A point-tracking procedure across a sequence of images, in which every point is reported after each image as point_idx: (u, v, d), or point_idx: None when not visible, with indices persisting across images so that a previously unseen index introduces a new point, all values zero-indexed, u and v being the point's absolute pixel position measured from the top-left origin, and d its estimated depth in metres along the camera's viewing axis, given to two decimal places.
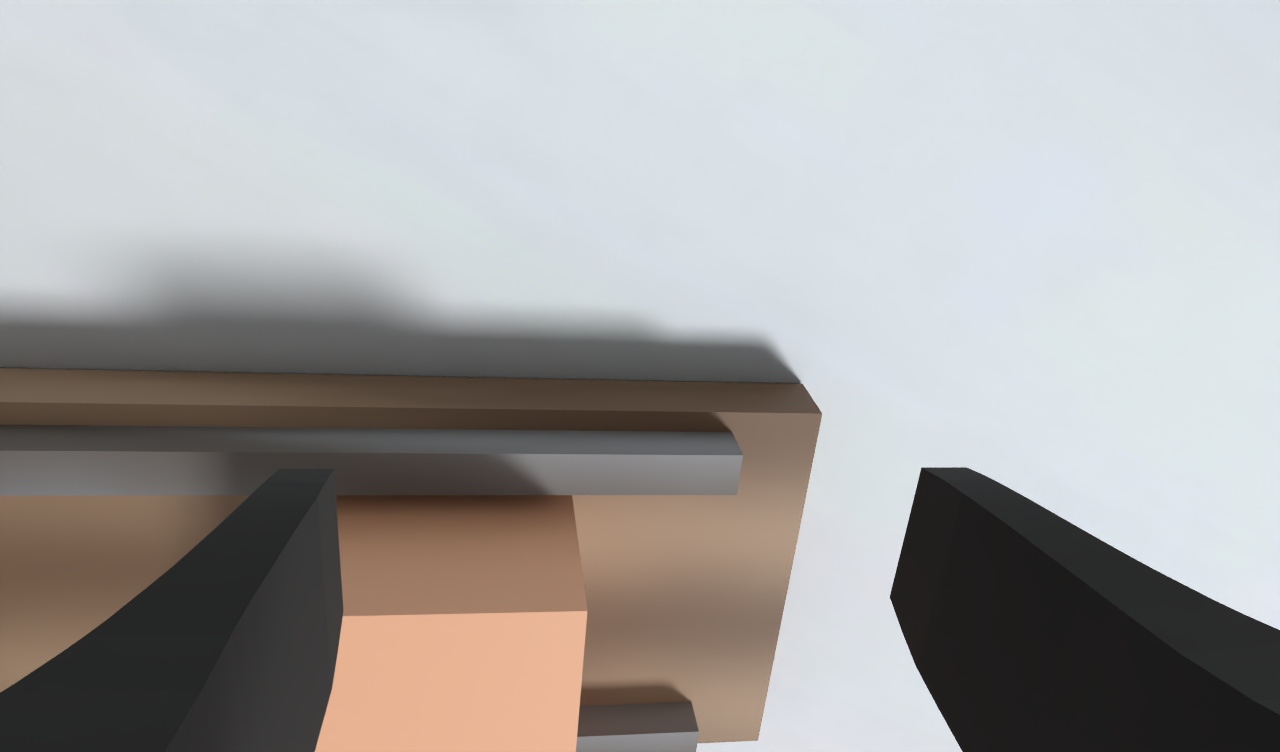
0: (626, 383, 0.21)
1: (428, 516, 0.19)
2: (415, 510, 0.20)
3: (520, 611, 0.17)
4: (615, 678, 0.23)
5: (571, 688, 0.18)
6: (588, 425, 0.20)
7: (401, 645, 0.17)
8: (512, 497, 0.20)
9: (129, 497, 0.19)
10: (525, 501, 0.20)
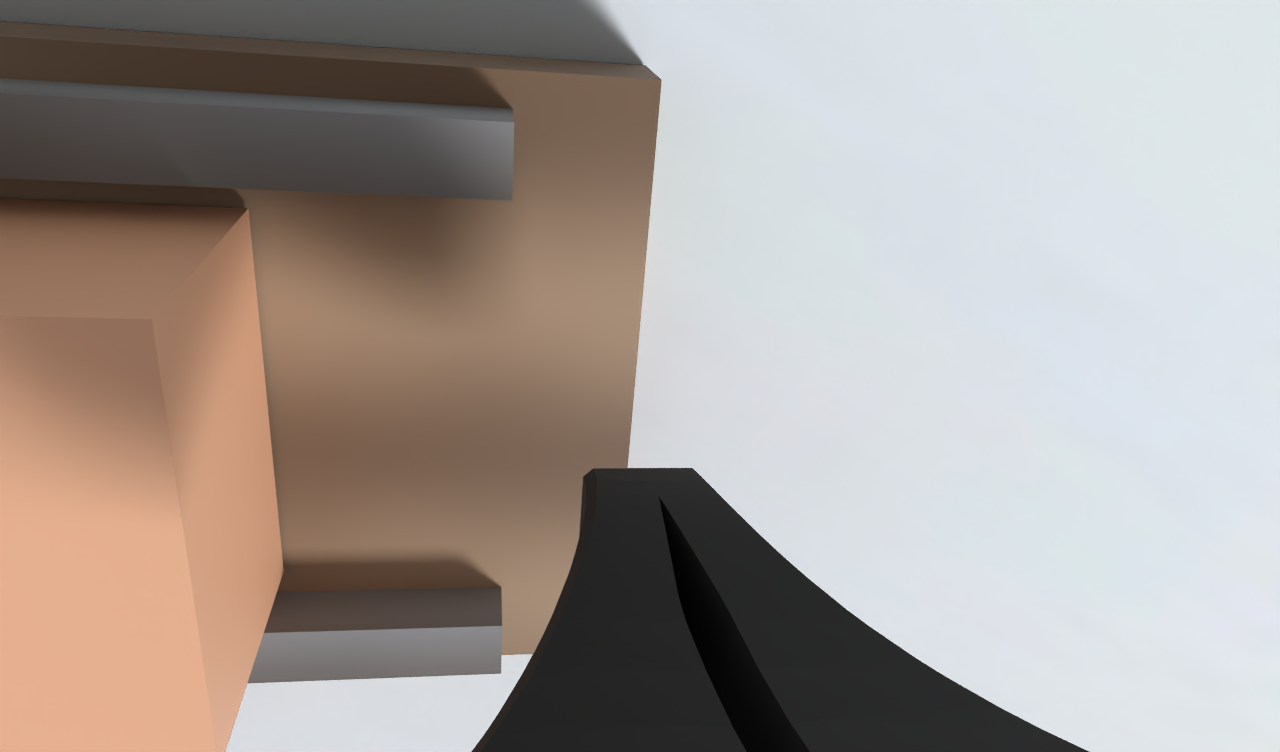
0: (351, 47, 0.13)
1: None
2: None
3: (15, 315, 0.09)
4: (375, 546, 0.15)
5: (157, 484, 0.10)
6: (260, 82, 0.12)
7: None
8: (139, 208, 0.12)
9: None
10: (157, 213, 0.12)
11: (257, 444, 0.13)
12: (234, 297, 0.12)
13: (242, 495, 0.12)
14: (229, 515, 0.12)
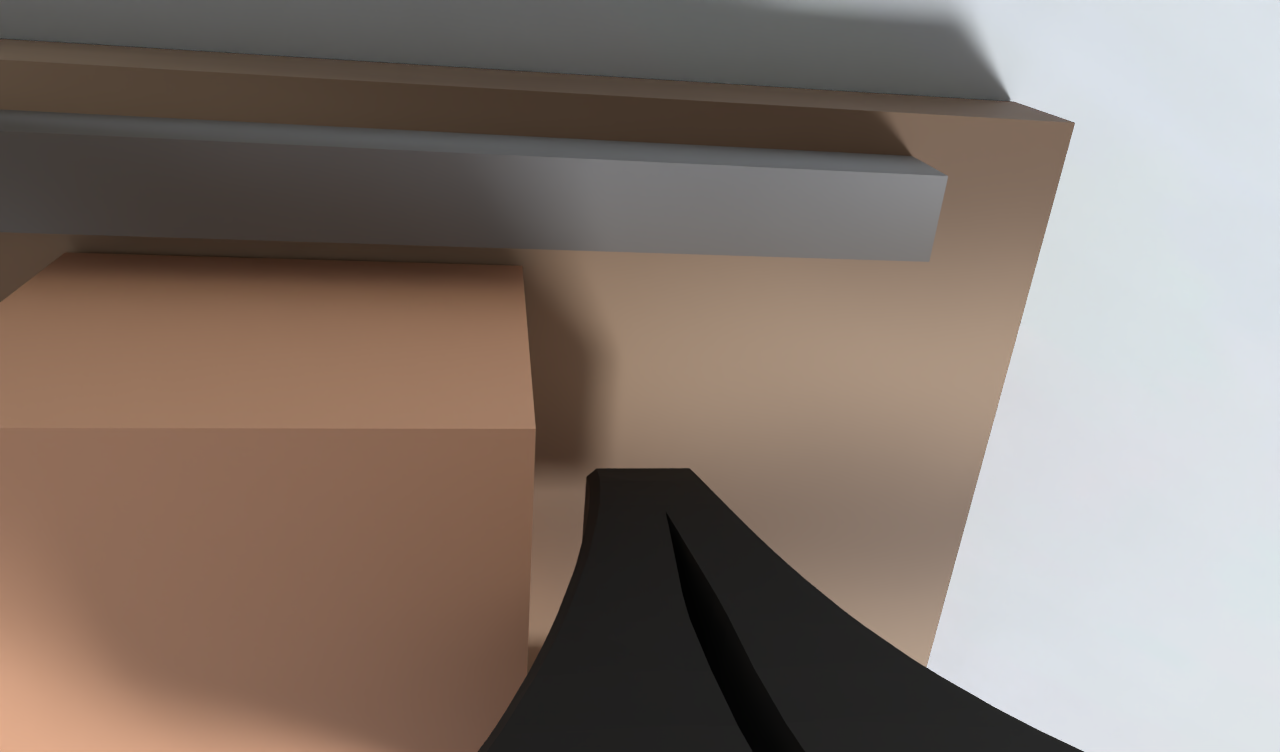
0: (712, 85, 0.12)
1: (230, 286, 0.10)
2: (207, 278, 0.10)
3: (380, 428, 0.07)
4: None
5: (508, 613, 0.08)
6: (650, 130, 0.11)
7: (101, 506, 0.07)
8: (408, 267, 0.11)
9: None
10: (431, 274, 0.11)
11: None
12: None
13: None
14: None
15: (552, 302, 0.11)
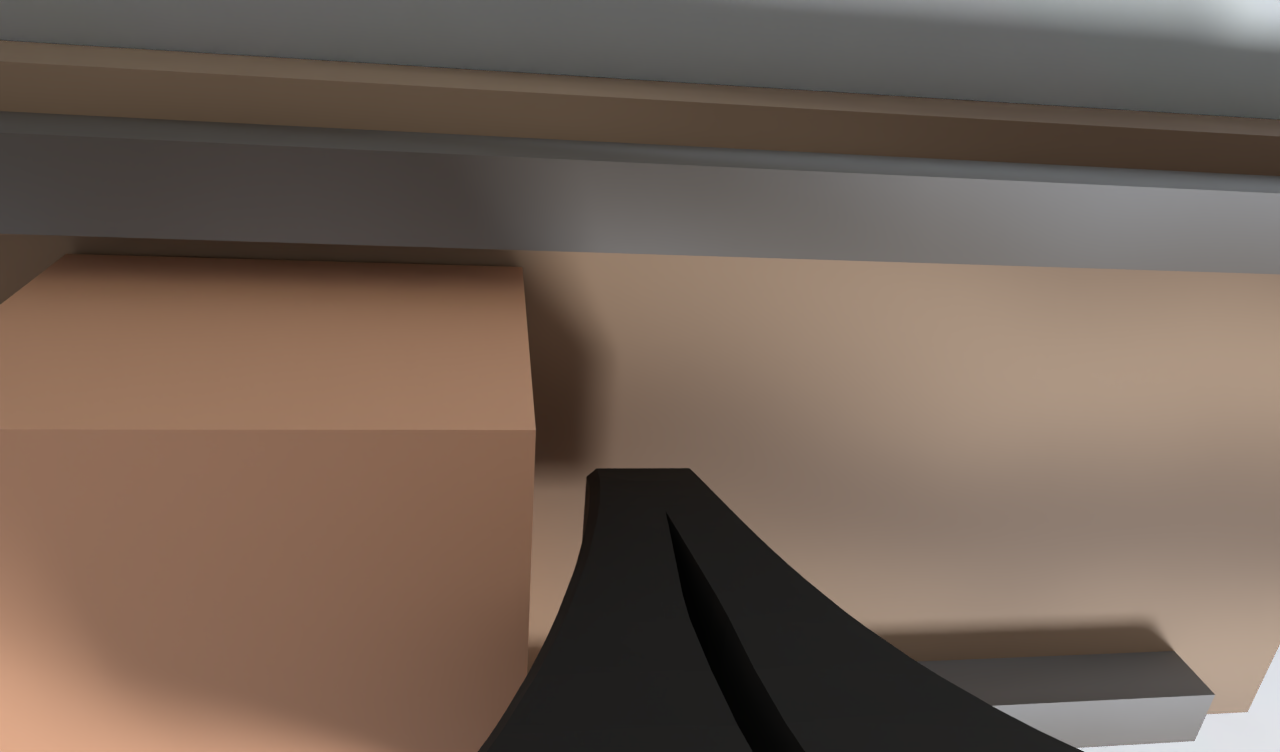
0: (1163, 114, 0.13)
1: (231, 287, 0.10)
2: (208, 279, 0.10)
3: (381, 427, 0.07)
4: (1077, 613, 0.15)
5: (508, 615, 0.08)
6: (1155, 158, 0.12)
7: (102, 507, 0.07)
8: (408, 269, 0.11)
9: None
10: (432, 275, 0.11)
11: None
12: None
13: None
14: None
15: (1034, 314, 0.12)
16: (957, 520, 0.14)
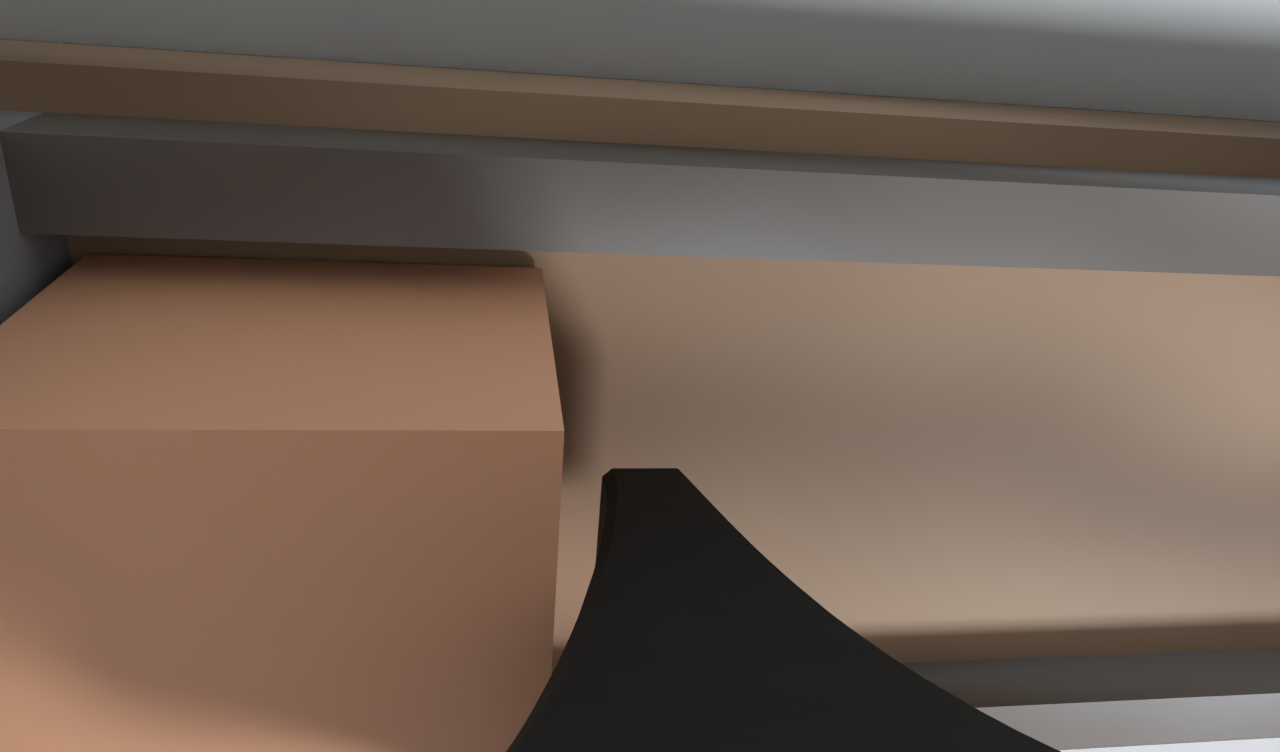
0: None
1: (254, 288, 0.10)
2: (231, 279, 0.10)
3: (411, 429, 0.07)
4: None
5: (533, 614, 0.08)
6: None
7: (133, 507, 0.07)
8: (428, 270, 0.11)
9: (769, 288, 0.12)
10: (452, 276, 0.11)
11: None
12: None
13: None
14: None
15: None
16: (1238, 518, 0.15)
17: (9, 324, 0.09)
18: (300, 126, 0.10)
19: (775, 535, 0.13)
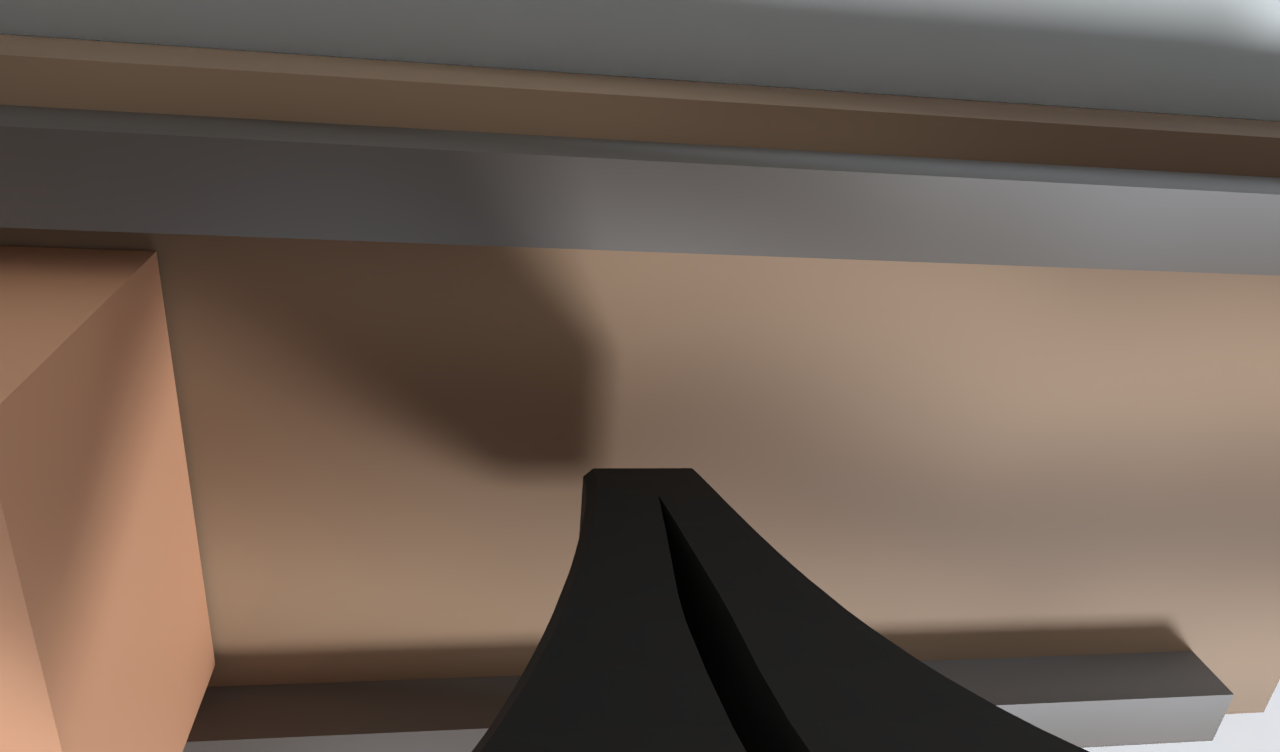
0: (1189, 117, 0.13)
1: None
2: None
3: None
4: (1097, 613, 0.15)
5: (7, 623, 0.08)
6: (1183, 161, 0.12)
7: None
8: (20, 253, 0.10)
9: (418, 274, 0.11)
10: (41, 259, 0.10)
11: (172, 530, 0.11)
12: (133, 363, 0.10)
13: (148, 598, 0.10)
14: (126, 629, 0.10)
15: (1061, 315, 0.13)
16: (980, 520, 0.14)
17: None
18: None
19: (469, 536, 0.13)
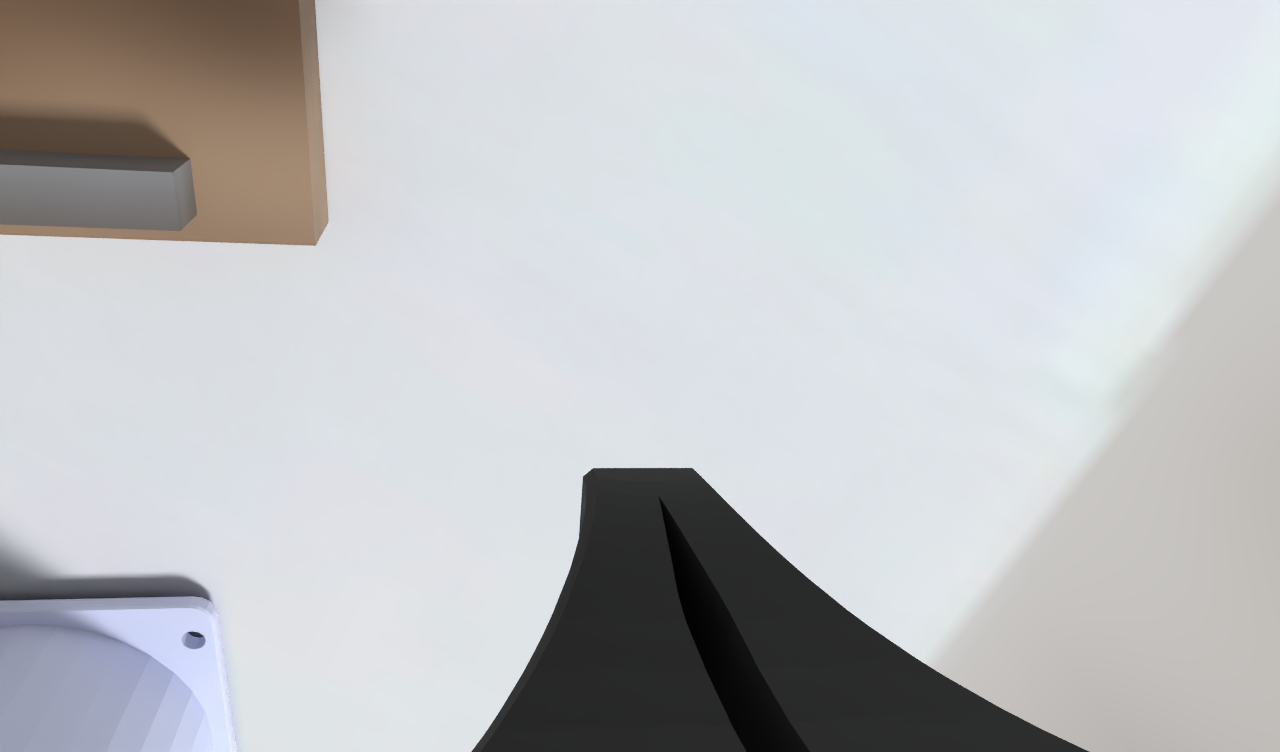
0: None
1: None
2: None
3: None
4: (52, 99, 0.16)
5: None
6: None
7: None
8: None
9: None
10: None
11: None
12: None
13: None
14: None
15: None
16: None
17: None
18: None
19: None
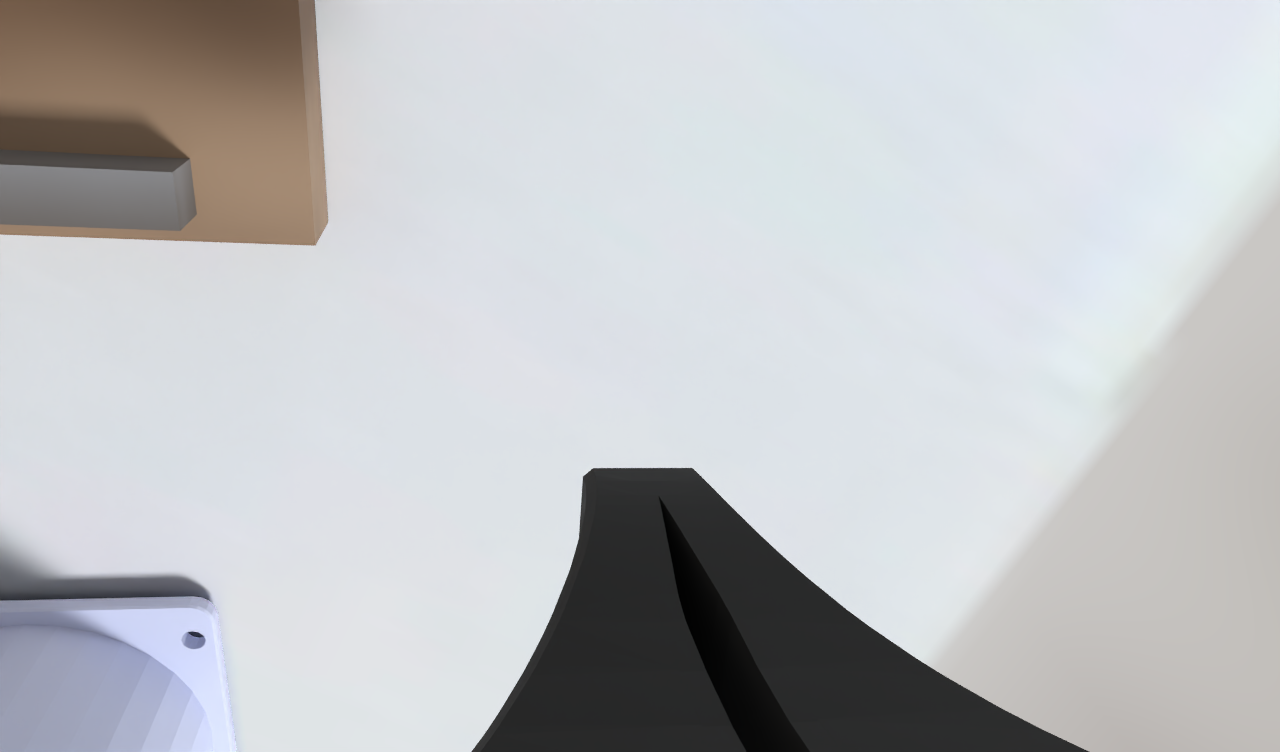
0: None
1: None
2: None
3: None
4: (52, 99, 0.16)
5: None
6: None
7: None
8: None
9: None
10: None
11: None
12: None
13: None
14: None
15: None
16: None
17: None
18: None
19: None
